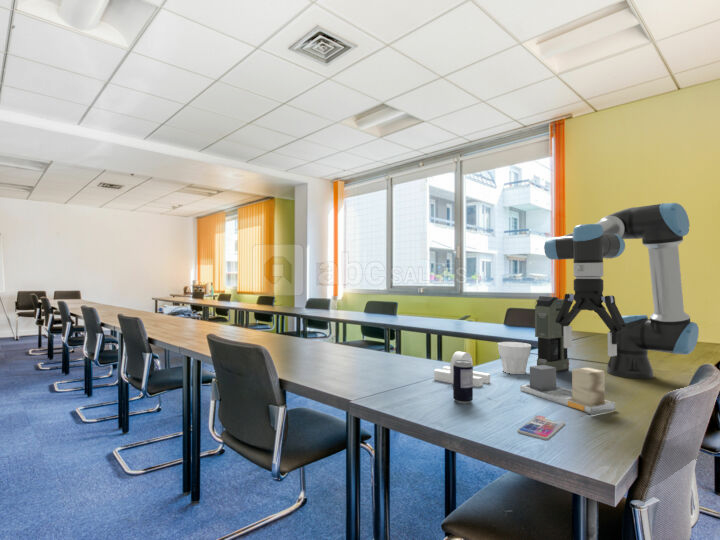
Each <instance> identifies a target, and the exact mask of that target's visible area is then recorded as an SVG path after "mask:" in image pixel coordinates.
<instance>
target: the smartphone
mask: <svg viewBox="0 0 720 540" xmlns="http://www.w3.org/2000/svg"><path fill="white" fill-rule="evenodd" d="M565 425H566V423H565V421H563V420H560V419H559V420H558V419H557V420H554V421H552V420H550V419H547V418H546V416H543V415H535V416H534V417H532V419H530V420H528V422H525V424H523V425H522V426H521V427H519V428H517V430H516V432H517V434H521V435H524V436H528V437H532V438H536V439H538V440H539V439H540V440H541V441H542V440H544V441H548V440H550V439H552V438H553V437H554V436H555V435H556V433H558V432H559V431H560V430H561V429H562V428H563V427H565Z"/></svg>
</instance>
